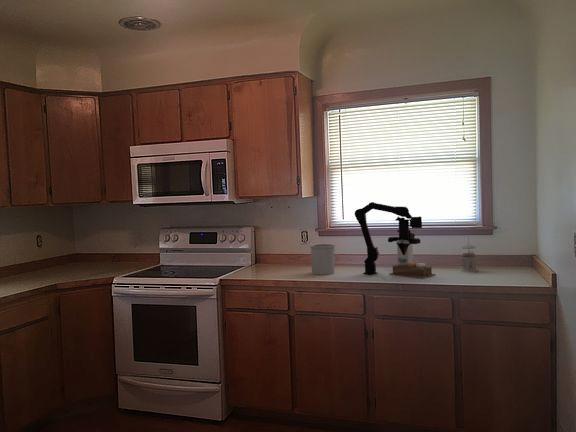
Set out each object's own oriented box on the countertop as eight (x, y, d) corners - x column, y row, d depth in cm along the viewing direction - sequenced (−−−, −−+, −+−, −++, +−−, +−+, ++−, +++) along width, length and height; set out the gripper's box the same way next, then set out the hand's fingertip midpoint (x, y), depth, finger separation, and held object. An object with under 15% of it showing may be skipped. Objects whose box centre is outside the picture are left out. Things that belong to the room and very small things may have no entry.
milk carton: (408, 269, 298) (407, 238, 297) (397, 268, 302) (396, 238, 301) (413, 267, 303) (412, 237, 302) (402, 266, 308) (401, 237, 307)
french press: (475, 268, 290) (474, 227, 289) (481, 272, 279) (480, 228, 277) (458, 269, 291) (457, 227, 290) (463, 272, 280) (462, 229, 278)
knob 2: (422, 274, 271) (422, 265, 270) (414, 273, 274) (414, 264, 274) (427, 273, 274) (427, 263, 274) (419, 272, 278) (419, 263, 278)
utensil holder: (340, 272, 297) (339, 243, 296) (325, 276, 286) (324, 246, 285) (321, 270, 307) (320, 242, 306) (306, 273, 296) (305, 245, 295)
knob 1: (404, 268, 279) (403, 258, 279) (396, 267, 283) (396, 258, 283) (409, 266, 283) (408, 257, 283) (401, 265, 287) (401, 257, 286)
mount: (424, 278, 266) (423, 269, 266) (389, 274, 283) (388, 266, 283) (435, 275, 275) (435, 266, 274) (400, 271, 291) (400, 263, 291)
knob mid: (413, 273, 275) (413, 264, 275) (405, 272, 279) (405, 263, 279) (418, 272, 279) (418, 262, 278) (410, 271, 282) (410, 262, 282)
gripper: (425, 228, 279) (425, 254, 280) (398, 226, 293) (398, 252, 294) (414, 229, 272) (415, 257, 273) (387, 228, 285) (387, 254, 286)
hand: (404, 255), depth 282 cm, fingers closed
